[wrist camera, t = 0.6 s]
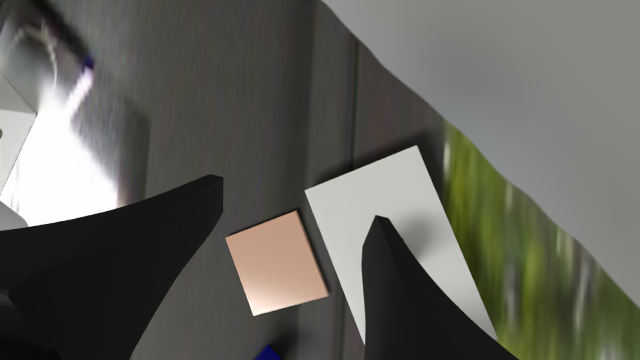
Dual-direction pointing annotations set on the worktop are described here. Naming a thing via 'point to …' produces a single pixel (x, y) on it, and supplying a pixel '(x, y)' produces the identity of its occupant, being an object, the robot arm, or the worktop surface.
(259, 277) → the terracotta tile
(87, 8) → the worktop surface
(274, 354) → the cable clip
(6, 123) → the gable box
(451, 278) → the board
